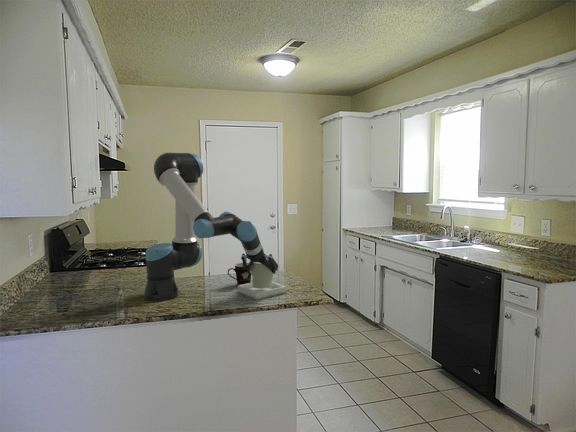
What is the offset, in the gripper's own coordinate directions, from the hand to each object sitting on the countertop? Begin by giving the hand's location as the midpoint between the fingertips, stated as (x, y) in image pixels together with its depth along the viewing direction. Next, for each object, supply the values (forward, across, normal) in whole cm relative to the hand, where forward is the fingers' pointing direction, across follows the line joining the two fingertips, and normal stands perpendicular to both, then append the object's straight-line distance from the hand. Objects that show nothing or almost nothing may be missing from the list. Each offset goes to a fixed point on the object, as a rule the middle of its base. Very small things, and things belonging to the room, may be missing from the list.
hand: (264, 275), depth 191 cm
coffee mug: (+11, -14, +1) cm, 18 cm away
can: (+1, 0, -5) cm, 5 cm away
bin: (+3, 0, -7) cm, 8 cm away
